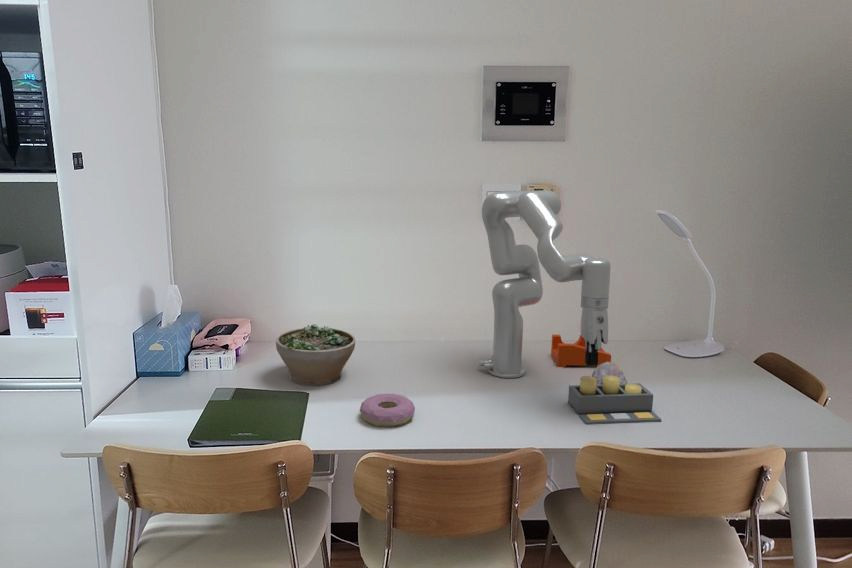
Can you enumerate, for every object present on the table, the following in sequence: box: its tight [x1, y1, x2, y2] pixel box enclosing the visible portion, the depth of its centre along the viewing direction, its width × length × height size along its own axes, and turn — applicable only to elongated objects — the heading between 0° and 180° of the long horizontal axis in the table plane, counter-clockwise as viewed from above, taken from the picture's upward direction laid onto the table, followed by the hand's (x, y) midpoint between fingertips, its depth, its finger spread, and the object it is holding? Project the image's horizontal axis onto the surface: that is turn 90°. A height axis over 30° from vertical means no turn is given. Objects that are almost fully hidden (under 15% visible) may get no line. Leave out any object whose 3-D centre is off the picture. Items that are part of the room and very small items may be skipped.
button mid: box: [602, 375, 620, 395], centre depth 195 cm, size 5×5×5 cm
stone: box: [591, 361, 628, 385], centre depth 214 cm, size 17×10×10 cm
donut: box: [359, 393, 416, 428], centre depth 187 cm, size 16×15×5 cm
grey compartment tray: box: [567, 383, 654, 416], centre depth 196 cm, size 22×9×6 cm, turn 97°
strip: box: [578, 411, 662, 425], centre depth 189 cm, size 22×5×1 cm, turn 97°
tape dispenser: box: [550, 334, 612, 368], centre depth 235 cm, size 18×13×8 cm
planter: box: [275, 323, 356, 387], centre depth 216 cm, size 26×25×15 cm
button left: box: [579, 375, 597, 396], centre depth 194 cm, size 5×5×5 cm
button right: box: [625, 383, 642, 394], centre depth 196 cm, size 5×5×5 cm
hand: (591, 364), depth 192 cm, fingers closed
